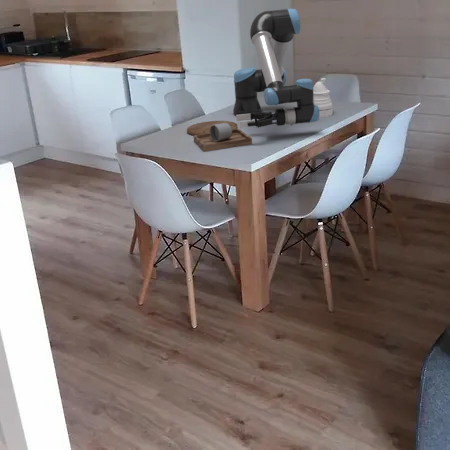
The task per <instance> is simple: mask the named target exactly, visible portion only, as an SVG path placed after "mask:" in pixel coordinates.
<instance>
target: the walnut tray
mask: <svg viewBox="0 0 450 450" xmlns="http://www.w3.org/2000/svg"><path fill="white" fill-rule="evenodd" d="M193 142H194V143H195V144H196V145H197V146H198V147H199V148H200V149H201V150H202V151H203V152H204V153H205V152H210V151H217V150H218V151H219V150H224V149H229V148H236V147H238V148H239V147H243V146H249V145H253V138H252V137H251V136H249V135H248V134H247V133H245V132H244V131H242V130H241V128H237V129H234V130H232V136H231V137H230V138H228V139H225V140H221V141H217V142H215V141H213V140H212V138H211V137H210V133H207V134H200V135H194V136H193Z"/></svg>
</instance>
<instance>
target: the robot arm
mask: <svg viewBox="0 0 450 450" xmlns="http://www.w3.org/2000/svg"><path fill="white" fill-rule="evenodd" d="M300 32H301V19H300V16H299V12H298V11H297V9H295V8H283V9H272V10H265V11H262V12H260V13H259V14H257V15H256V16H255V18H254V19H253V21H252V22H251V25H250V30H249V36H250V40H251V43H252V45H253V46H254V47H255V52H256V55H257V57H258V61H259V64H260V68H261V69H257V68H256V67H255V66H254V67H252V66H251V67H245V68H241V69H238V70H236V71H234V73H233V84H234V85H233V86H234V97H235V101H234V106H233V111H232V112H233V113H232V114H233V116H236V122H239V129H245V128H254V127H256V128H258V129H259V128H262V127H267V126H271V125H276V126H278V127H279V126H280V127H281V126H284V125H289V126H293V125H296V124H306V123H307V124H310V123H315V122H318V121H319V120H320V117H319V108H318V106H317V105H314V98H313V90H314V89H313V87H314V82H313V80H312V79H311V78H300V79H297V80H296V81H295V84H291V85H286V82H287V80H286V78H287V73H286V70H285V68H284V67H283V66H284V65H283V64H284V63H285V59H286V58H285V57H286V54H287V51H288V47H289V43H290V42H291V41H293V39H294V35H299V34H300ZM258 93H263V99H264V102H265V104H266V106H278V105H282V104H291V103H296V106H293V107H292V106H291V107H285V108H282V107H281V108H276V109H275V111H274V113H273V112H272V111H268V112H267V111H265V112H264V111H263V112H262V107H261V104H260V101H259V98H258Z"/></svg>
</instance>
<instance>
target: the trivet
mask: <svg viewBox="0 0 450 450" xmlns="http://www.w3.org/2000/svg"><path fill="white" fill-rule="evenodd" d="M222 123H228V124H229V125H230V126H231V128H232V130H234V129H239V128H238V124H237V123H236V122H235V121H230V120H210V121H209V120H208V121H203V122H198V123H197V122H196V123H195V124H192V125H191V124H190V126H188V127H187V128H186V134H188V135H190V136H193V137H194V135H200V134H207V133H210V127H211V126H212V125H215V124H222Z"/></svg>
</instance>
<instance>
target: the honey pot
mask: <svg viewBox="0 0 450 450" xmlns="http://www.w3.org/2000/svg"><path fill="white" fill-rule="evenodd" d="M325 82H326V78H325V77H324V78H320V81H317V82H315V84H313V89H314V90H313V98H314V105H317V106H318V108H319V118H327V117H330V116H332V115H333V114H334V113H333V111H334V110H333V101H332V99H331V96H330V95H329V93H330V92H331V90H329V89H328V88H327V87H326V85H325V84H324V83H325Z"/></svg>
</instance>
